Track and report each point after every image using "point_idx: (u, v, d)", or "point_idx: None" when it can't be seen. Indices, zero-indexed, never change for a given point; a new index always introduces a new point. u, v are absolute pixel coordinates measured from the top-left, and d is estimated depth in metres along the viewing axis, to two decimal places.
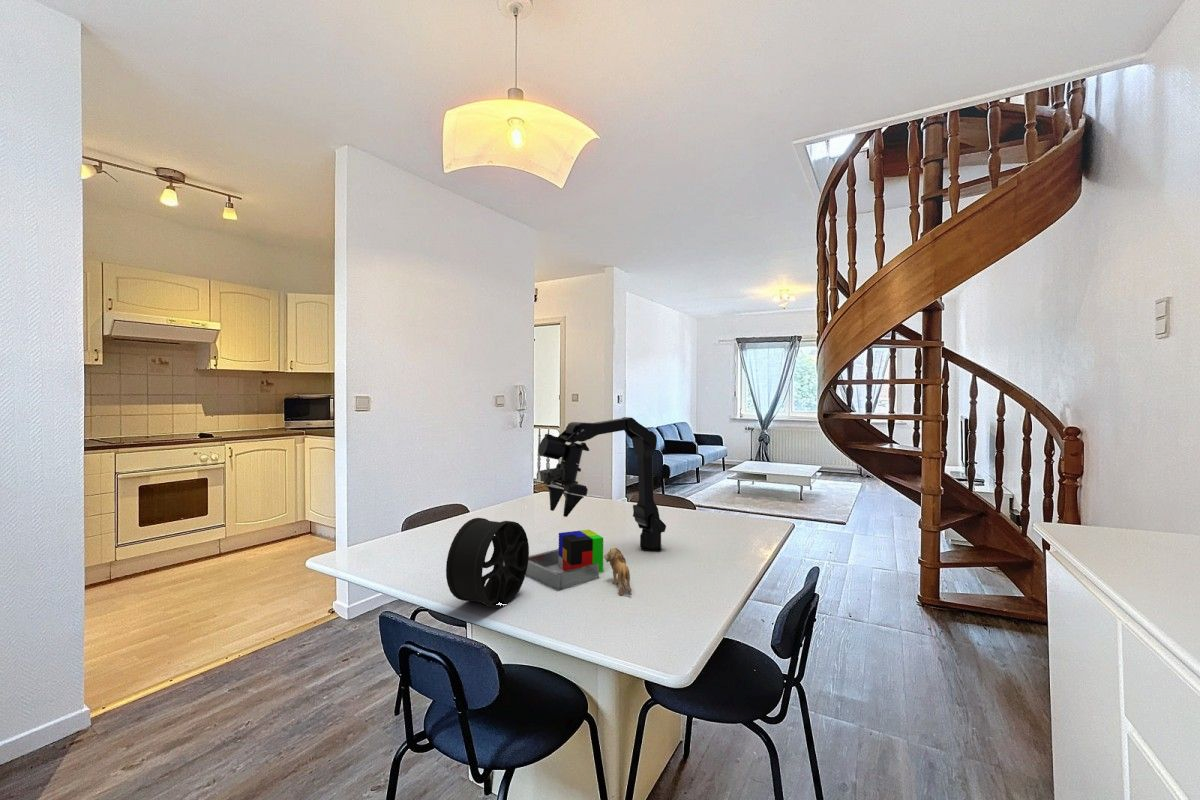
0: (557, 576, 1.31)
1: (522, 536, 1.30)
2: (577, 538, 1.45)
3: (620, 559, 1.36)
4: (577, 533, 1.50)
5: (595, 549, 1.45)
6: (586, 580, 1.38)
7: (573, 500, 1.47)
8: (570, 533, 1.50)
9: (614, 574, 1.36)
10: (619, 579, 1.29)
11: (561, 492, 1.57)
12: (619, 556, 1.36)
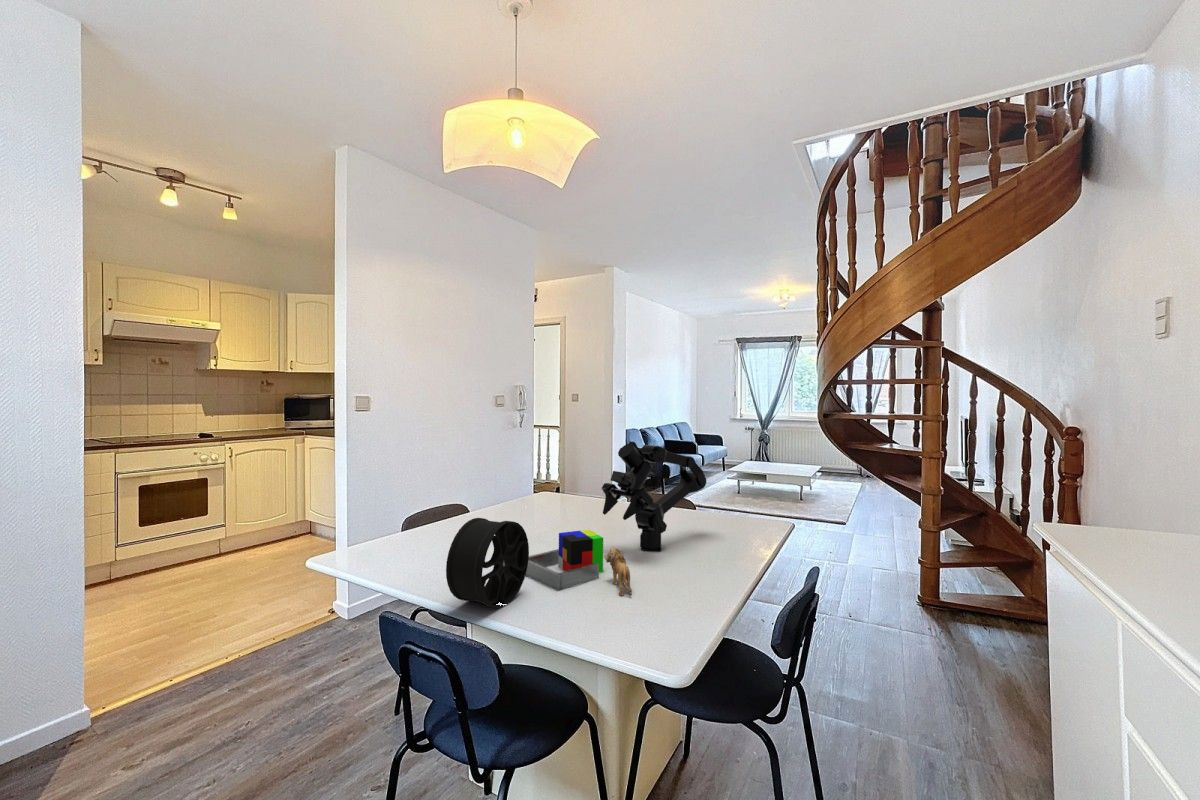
0: (557, 576, 1.31)
1: (522, 536, 1.30)
2: (577, 538, 1.45)
3: (620, 559, 1.35)
4: (577, 533, 1.50)
5: (595, 549, 1.45)
6: (586, 580, 1.38)
7: (636, 507, 1.55)
8: (570, 533, 1.50)
9: (614, 574, 1.35)
10: (619, 579, 1.29)
11: (615, 502, 1.65)
12: (619, 556, 1.36)
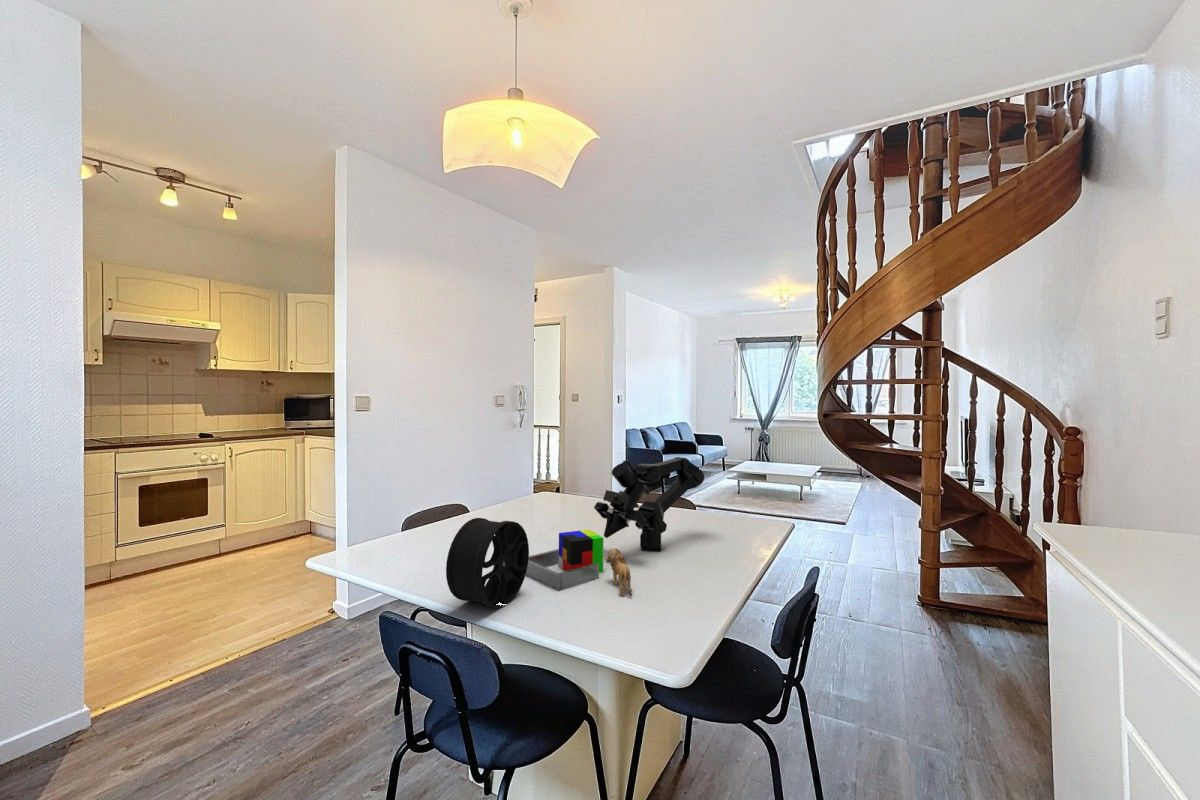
0: (557, 576, 1.31)
1: (522, 536, 1.30)
2: (577, 538, 1.45)
3: (620, 560, 1.35)
4: (577, 533, 1.50)
5: (595, 549, 1.45)
6: (586, 580, 1.38)
7: (618, 525, 1.56)
8: (570, 533, 1.50)
9: (614, 575, 1.35)
10: (620, 580, 1.29)
11: None
12: (619, 557, 1.36)
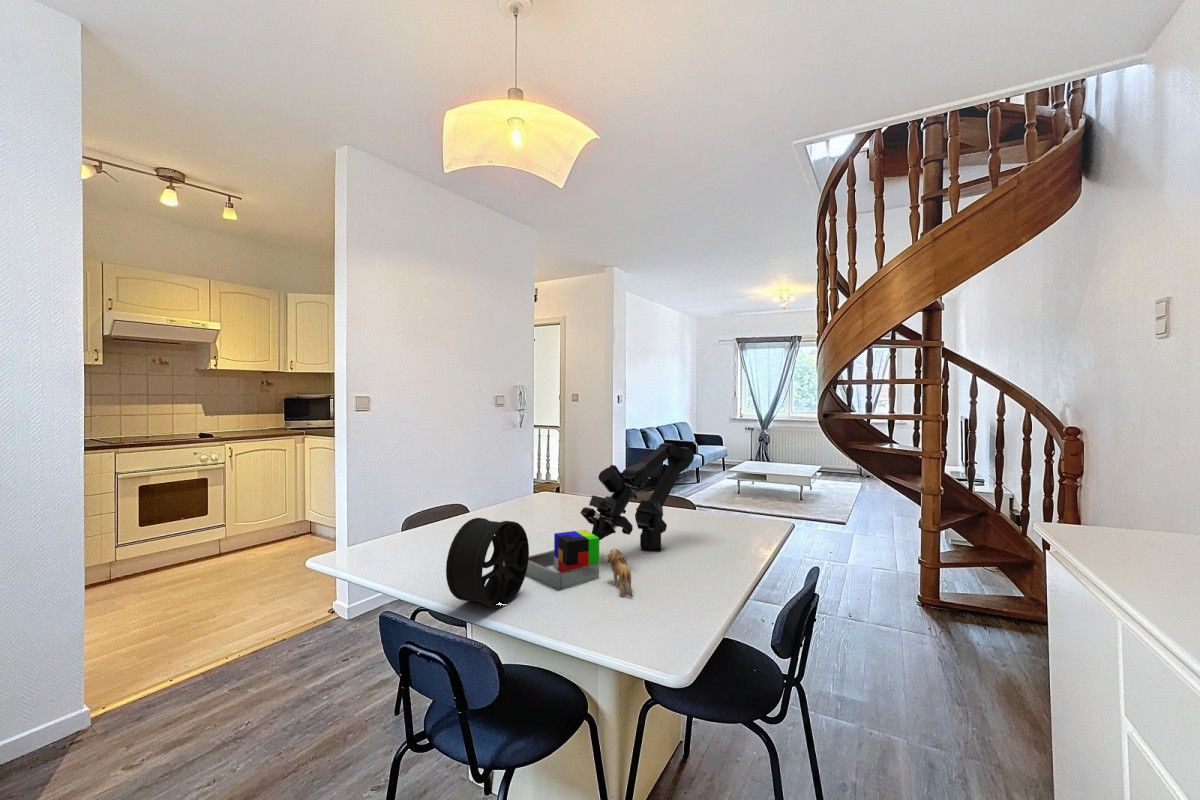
0: (557, 576, 1.31)
1: (522, 536, 1.30)
2: (573, 538, 1.44)
3: (621, 560, 1.35)
4: (573, 534, 1.49)
5: (591, 549, 1.44)
6: (586, 580, 1.38)
7: (604, 531, 1.52)
8: (566, 533, 1.49)
9: (615, 575, 1.35)
10: (620, 581, 1.28)
11: None
12: (620, 557, 1.35)
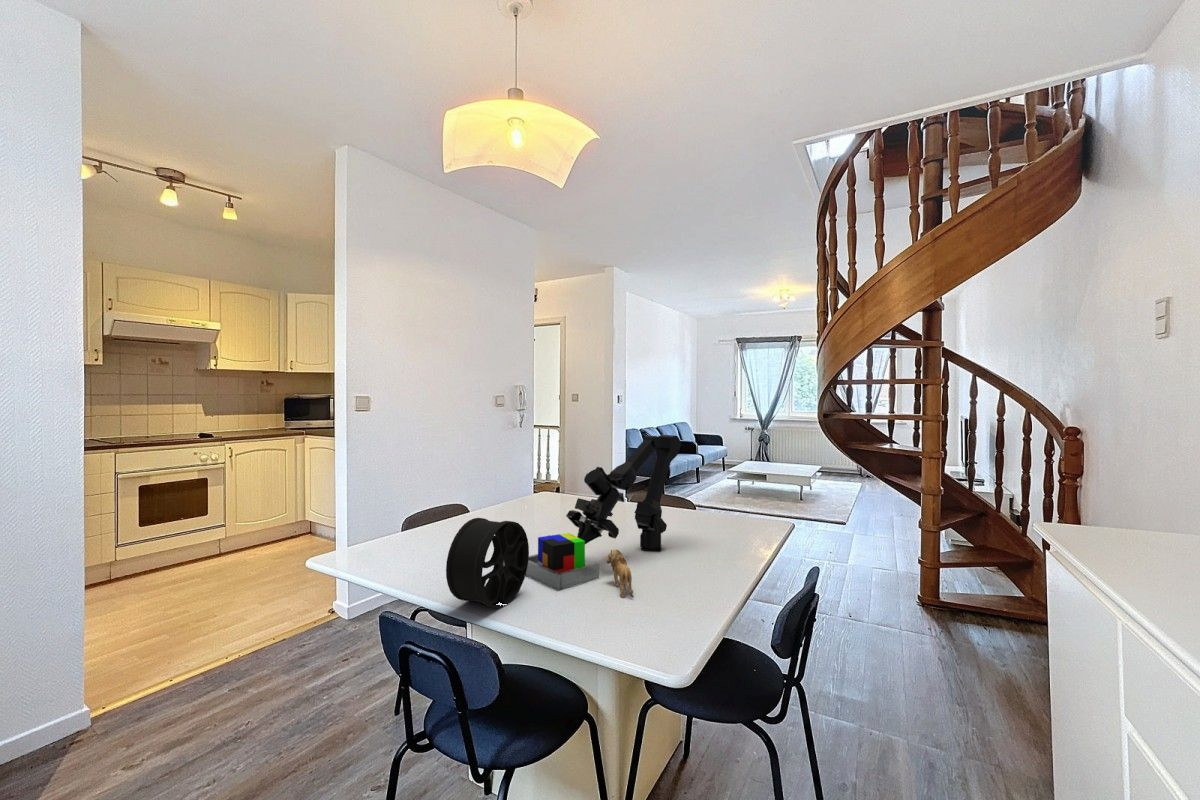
0: (557, 576, 1.31)
1: (522, 536, 1.30)
2: (558, 542, 1.40)
3: (621, 561, 1.34)
4: (557, 537, 1.45)
5: (576, 553, 1.41)
6: (586, 580, 1.38)
7: (590, 535, 1.49)
8: (550, 537, 1.45)
9: (615, 576, 1.34)
10: (621, 581, 1.28)
11: None
12: (620, 558, 1.35)
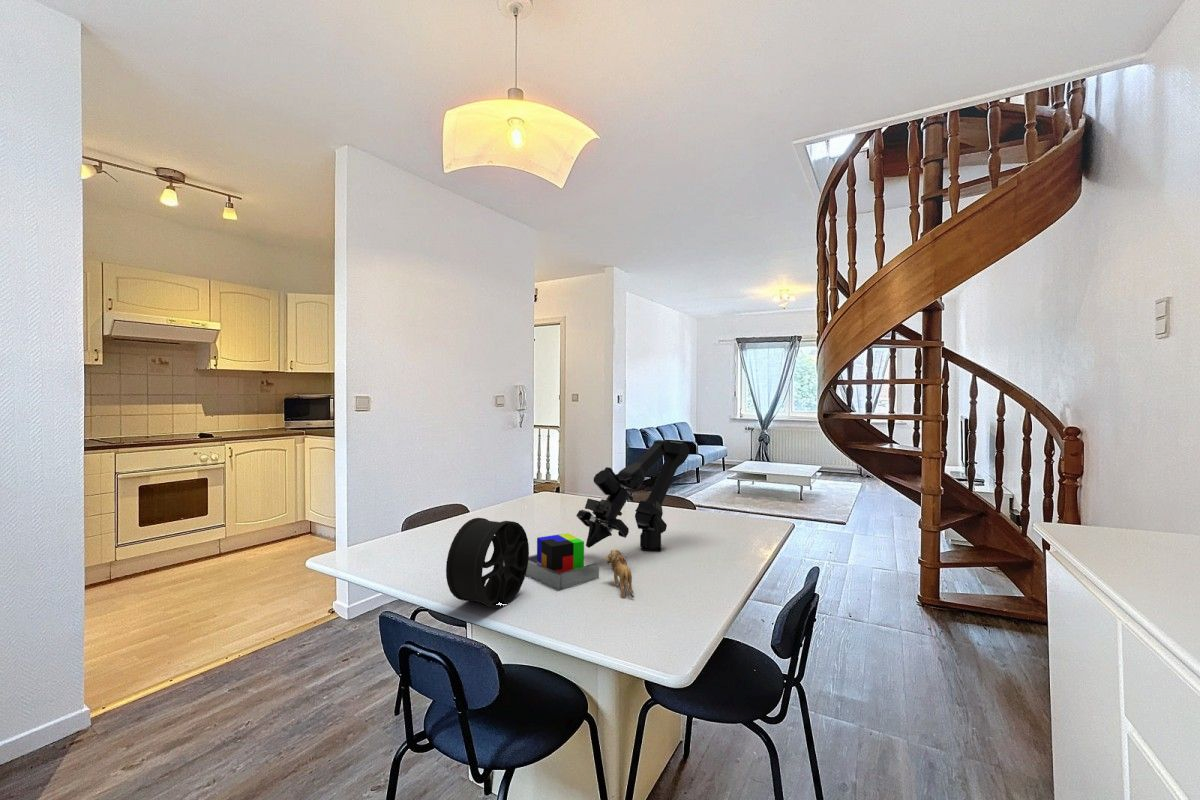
0: (557, 576, 1.31)
1: (522, 536, 1.30)
2: (557, 542, 1.40)
3: (621, 561, 1.34)
4: (556, 537, 1.45)
5: (576, 553, 1.40)
6: (586, 580, 1.38)
7: (601, 534, 1.51)
8: (549, 537, 1.45)
9: (615, 576, 1.34)
10: (621, 581, 1.28)
11: None
12: (620, 558, 1.35)
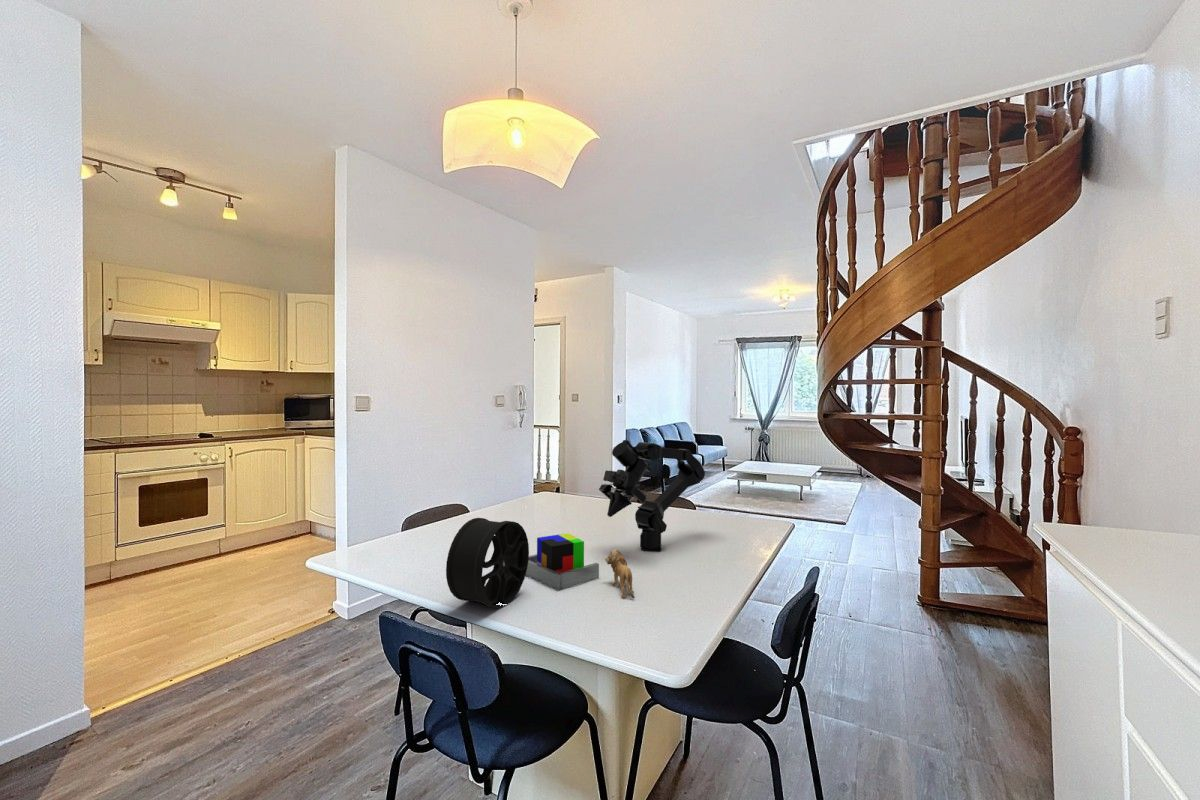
0: (557, 576, 1.31)
1: (522, 536, 1.30)
2: (557, 542, 1.40)
3: (621, 561, 1.34)
4: (556, 537, 1.45)
5: (576, 553, 1.40)
6: (586, 580, 1.38)
7: (621, 504, 1.58)
8: (549, 537, 1.45)
9: (615, 577, 1.34)
10: (622, 582, 1.27)
11: None
12: (620, 558, 1.34)
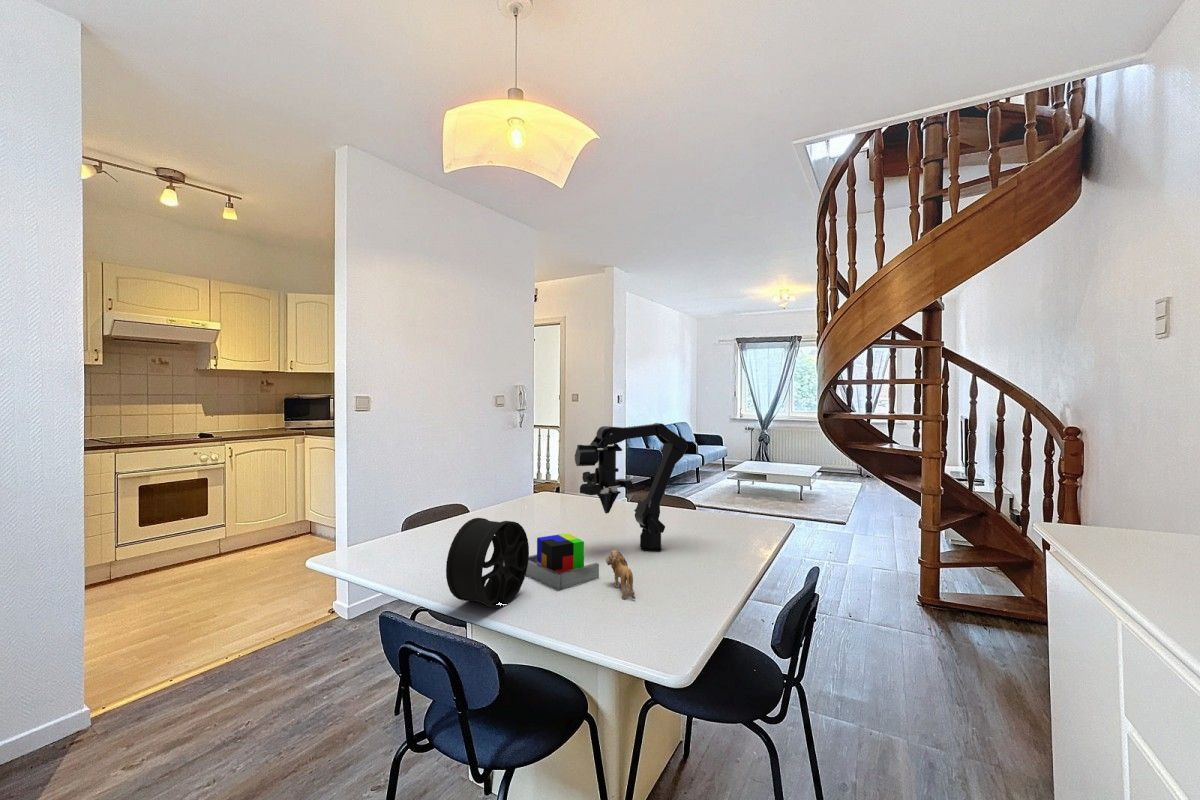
0: (557, 576, 1.31)
1: (522, 536, 1.30)
2: (557, 542, 1.40)
3: (622, 562, 1.33)
4: (556, 537, 1.45)
5: (576, 553, 1.40)
6: (586, 580, 1.38)
7: (605, 498, 1.62)
8: (549, 537, 1.45)
9: (616, 577, 1.33)
10: (622, 583, 1.27)
11: (612, 495, 1.62)
12: (621, 559, 1.34)
